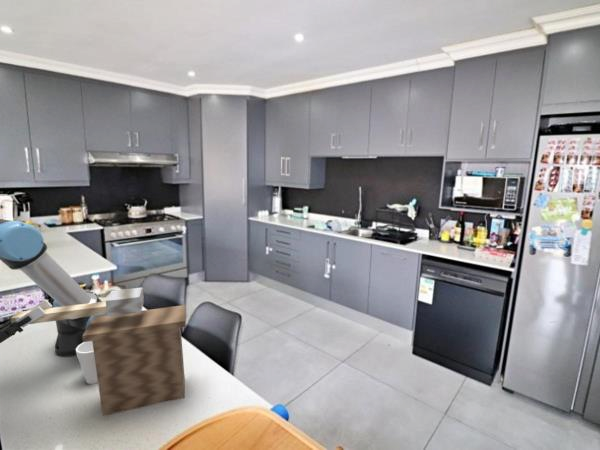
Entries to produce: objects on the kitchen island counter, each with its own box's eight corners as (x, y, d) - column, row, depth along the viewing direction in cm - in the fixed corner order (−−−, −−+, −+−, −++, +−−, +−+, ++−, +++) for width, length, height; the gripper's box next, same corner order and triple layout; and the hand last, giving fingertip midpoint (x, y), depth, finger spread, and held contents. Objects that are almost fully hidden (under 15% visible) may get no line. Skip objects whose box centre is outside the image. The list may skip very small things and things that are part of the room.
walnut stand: (94, 419, 99) (82, 335, 94) (103, 393, 111) (93, 317, 105) (190, 398, 108) (185, 320, 103) (190, 375, 119) (185, 304, 114)
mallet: (8, 329, 89) (5, 313, 88) (22, 316, 97) (19, 301, 96) (140, 312, 100) (139, 297, 99) (144, 301, 107) (142, 287, 106)
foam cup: (78, 389, 112) (73, 356, 109) (82, 374, 120) (77, 342, 118) (110, 381, 116) (106, 348, 114) (111, 366, 124) (107, 336, 122)
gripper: (-8, 348, 100) (64, 303, 104) (-44, 384, 84) (43, 330, 88) (-28, 331, 97) (47, 285, 101) (-69, 364, 81) (22, 309, 86)
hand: (45, 306), depth 95 cm, fingers closed on mallet, 4 cm apart
